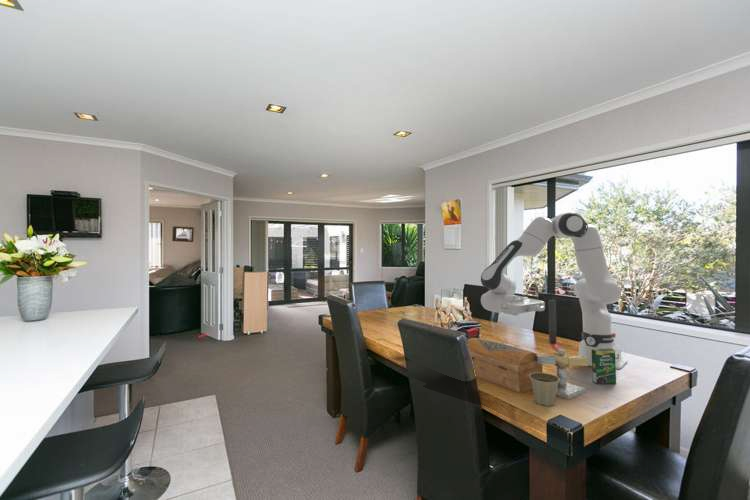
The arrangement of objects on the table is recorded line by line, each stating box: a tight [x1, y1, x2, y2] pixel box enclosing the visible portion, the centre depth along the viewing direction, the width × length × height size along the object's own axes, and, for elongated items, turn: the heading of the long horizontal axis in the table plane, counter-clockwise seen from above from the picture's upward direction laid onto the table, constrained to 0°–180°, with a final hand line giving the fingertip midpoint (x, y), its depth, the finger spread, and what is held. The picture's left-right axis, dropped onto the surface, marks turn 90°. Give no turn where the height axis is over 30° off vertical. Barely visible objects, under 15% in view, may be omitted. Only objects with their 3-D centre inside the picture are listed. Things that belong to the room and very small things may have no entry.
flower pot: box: [529, 372, 560, 407], centre depth 120 cm, size 9×9×9 cm
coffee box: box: [591, 348, 617, 385], centre depth 137 cm, size 8×3×13 cm, turn 91°
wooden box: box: [467, 337, 543, 394], centre depth 144 cm, size 30×16×14 cm, turn 32°
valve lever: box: [548, 299, 566, 355], centre depth 136 cm, size 14×3×18 cm, turn 168°
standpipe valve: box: [536, 352, 589, 400], centre depth 130 cm, size 14×14×13 cm
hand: (542, 309), depth 145 cm, fingers closed
